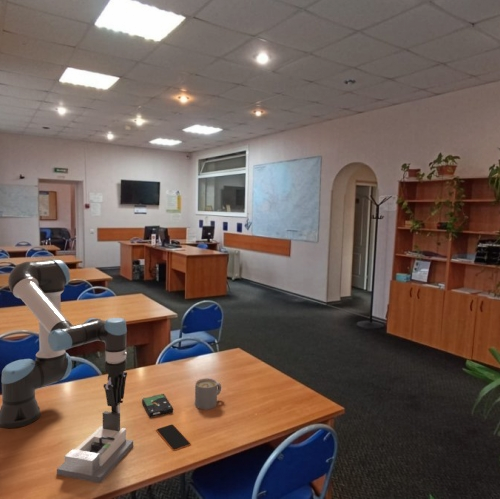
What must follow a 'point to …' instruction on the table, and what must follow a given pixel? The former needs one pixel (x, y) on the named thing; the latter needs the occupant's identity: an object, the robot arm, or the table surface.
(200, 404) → the coffee mug
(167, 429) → the smartphone
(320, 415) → the table surface
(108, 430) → the plunger
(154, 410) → the disk drive
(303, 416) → the table surface
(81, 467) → the brushed metal slab
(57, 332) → the robot arm
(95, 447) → the dark grey angular piece
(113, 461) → the bench
